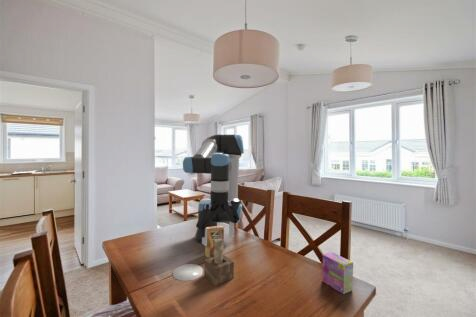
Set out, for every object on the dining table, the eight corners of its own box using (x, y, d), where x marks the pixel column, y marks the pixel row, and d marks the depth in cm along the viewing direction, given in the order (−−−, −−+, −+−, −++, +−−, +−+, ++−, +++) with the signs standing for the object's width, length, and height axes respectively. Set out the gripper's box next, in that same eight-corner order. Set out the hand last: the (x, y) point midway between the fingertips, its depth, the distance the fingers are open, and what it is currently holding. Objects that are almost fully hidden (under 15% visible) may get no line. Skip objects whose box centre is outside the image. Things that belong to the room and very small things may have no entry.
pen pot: (221, 270, 102) (222, 253, 102) (233, 280, 95) (234, 261, 95) (204, 277, 97) (204, 259, 96) (215, 288, 90) (216, 268, 89)
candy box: (221, 253, 119) (221, 225, 118) (223, 257, 115) (224, 227, 114) (204, 255, 116) (205, 226, 115) (206, 259, 112) (207, 229, 111)
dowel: (219, 273, 98) (219, 237, 97) (223, 277, 95) (224, 240, 95) (212, 276, 96) (213, 239, 95) (216, 280, 93) (217, 242, 92)
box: (321, 281, 96) (322, 254, 95) (330, 277, 99) (331, 251, 98) (343, 295, 87) (344, 265, 86) (352, 290, 90) (353, 262, 89)
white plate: (194, 263, 108) (194, 261, 108) (208, 276, 98) (208, 273, 98) (168, 272, 100) (168, 269, 100) (180, 287, 90) (180, 284, 90)
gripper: (237, 186, 105) (236, 231, 105) (188, 192, 89) (187, 244, 90) (248, 189, 99) (246, 236, 99) (197, 195, 83) (196, 251, 84)
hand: (218, 240), depth 95 cm, fingers open, 13 cm apart
